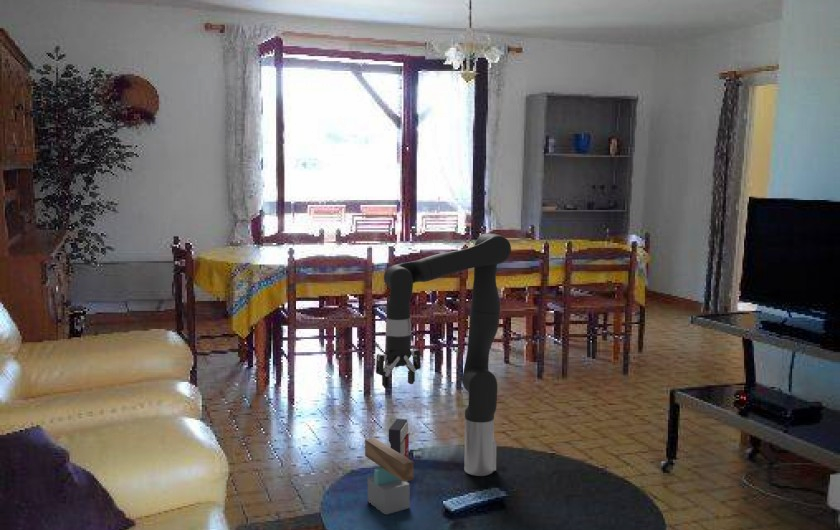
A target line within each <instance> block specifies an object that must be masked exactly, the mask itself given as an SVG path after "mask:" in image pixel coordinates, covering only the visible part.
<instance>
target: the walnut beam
mask: <svg viewBox="0 0 840 530" xmlns="http://www.w3.org/2000/svg"><path fill="white" fill-rule="evenodd" d="M364 452H365V453H364V456H365V457H366V458H367V459H368V460H371V462H374V463H375V464H376V465H378V466H380V468H381V467H382V468H384V469H385V470H387V471H388V472H390V473H391V474H393V475H394V476H396V477H397V478H399V479H400V480H402V481H403V482H410V481H413V480H414V460H412V459H410V458H409V459H408V458H407V457H405V456H403V455H402V454H400V453H398V452H397V451H395V450H393V449H392V448H391V446H388V445H387V444H385V443H383V442H382V441H380V440H379V439H377V438H375V437H371V438H365V439H364Z"/></svg>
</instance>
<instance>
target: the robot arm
mask: <svg viewBox="0 0 840 530" xmlns="http://www.w3.org/2000/svg"><path fill="white" fill-rule="evenodd" d="M511 253H512V245H511V243H510V241H509V240H508V239H507V238H506V237H505V236H503V235H500V234H496V233H490V232H485V233H482V234H481V235H479V236H478V237H477V239H476V241H475V243H474V245H473V246H470V247H467V248H462V249H458V250H453V251H445V252H440V253H437V254H433V255H429V256H426V257H423V258H420V259H417V260H413V261H408V262H402V263H398V264H394V265H391V266H389V267H388V268H387V269H386V270H385V272H384V275H383V279H384V282H385V284H386V286H387V287H389V299H388V300H387V302H386V322H385V348H386V351H385V353H384V354H380V353H377V354H376V356H375V357H376V358H375V359H376V362H375V374H377V375H379V376H381V383H382V384H381V385H382V387H383V388H384V389H390V373H391V372H392V371H393V370H394V369H395V368H399V367H405V368H406V369H407V370H408V371H407V383H408V384H409V385H414V383H415V380H416V371H418V370H420V369H421V368H422V366H421V365H422V363H421V351H420V350H419V349H416V348H413V349H412V350H411V348H412V322H411V299H412V294H413V288H414V284H416V283H420V282H421V283H425V282H429V281H434V280H436V279H439V278H443V277H445V276H448V275H449V276H450V275H452V274H454V273H458V272H461V271H466V270H469V269H474V270H473V285H472V290H471V291H472V292H471V293H472V294H471V304H470V310H469V320H468V321H469V326H468V336H467V337H468V339H467V349H466V350H467V352H466V357H465V363H464V367H463V370H462V371H463V372H462V381H461V382H462V385H463V387H464V389H465V390H466V392H468V406H467V407H466V408H465V409H464V460H463V461H464V465H463V466H464V467H463V469H464V472H465V473H466V474H468V475H471V476H476V477H485V476H488V475H491V474H492V473H494V472H495V471H497V441H496V440H495V437H494V436H495V414H496V411H497V407H498V406H497V404H498V381H497V378H496V376H495V375H494V373H492V372H491V371H490V370H489V361H490V360H489V359H490V350H491V347H492V345H493V342H494V339H495V337H496V336H497V333H498V329H499V325H500V315H501V302H500V301H501V300H500V297H499V291H498V286H497V268H498V265H499V264H500V265H501V264H503V263H504V262H505V261H507V260H508V259H509V258H510V255H511ZM411 357H412V361H411V360H410V358H411ZM384 362H385V363H384Z"/></svg>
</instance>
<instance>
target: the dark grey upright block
mask: <svg viewBox="0 0 840 530" xmlns="http://www.w3.org/2000/svg"><path fill="white" fill-rule="evenodd" d="M409 438H410V437H409V421H408V419H405V418H396V419H395V421H394V422H393V423H392V425H391V426H390V427H389V429H388V442H389V444H390V448H392V449H393V450H395V451H397V452H398V453H400V454H402V455H403V456H405V457H407V458H408V459H410V457H409V456H410V454H409V453H410V452H409V451H410V446H409V444H410V441H409V440H410V439H409Z"/></svg>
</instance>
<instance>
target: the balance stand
mask: <svg viewBox="0 0 840 530" xmlns="http://www.w3.org/2000/svg"><path fill="white" fill-rule="evenodd" d="M373 471H374V473H373V476H369V477H367V502H368V503H369V504H370V503H371V504H370V505H372V507H374V506H375V507H376V509H377V510H378V511H379V510H380V511H379V512H381V513H382V514H383V513H384V514H386V515H389V514H394V513H396V512H397V513H398V512H401V511H403V510H408V509H410V508H411V507H410V506H411V504H410V503H411V499H410V497H411V495H410V494H411V491H410V489H411V486H410V485H411V484H410V483H409V482H408V481H406V482H403V481H402V480H400V479H399V478H397V477H396V476H394V475H393V474H391V473H390V472H388V471H387V470H385V469H384V468H382V467H381V466H380V467H376V468H374V469H373ZM375 507H374V508H375ZM384 514H383V515H384Z"/></svg>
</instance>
